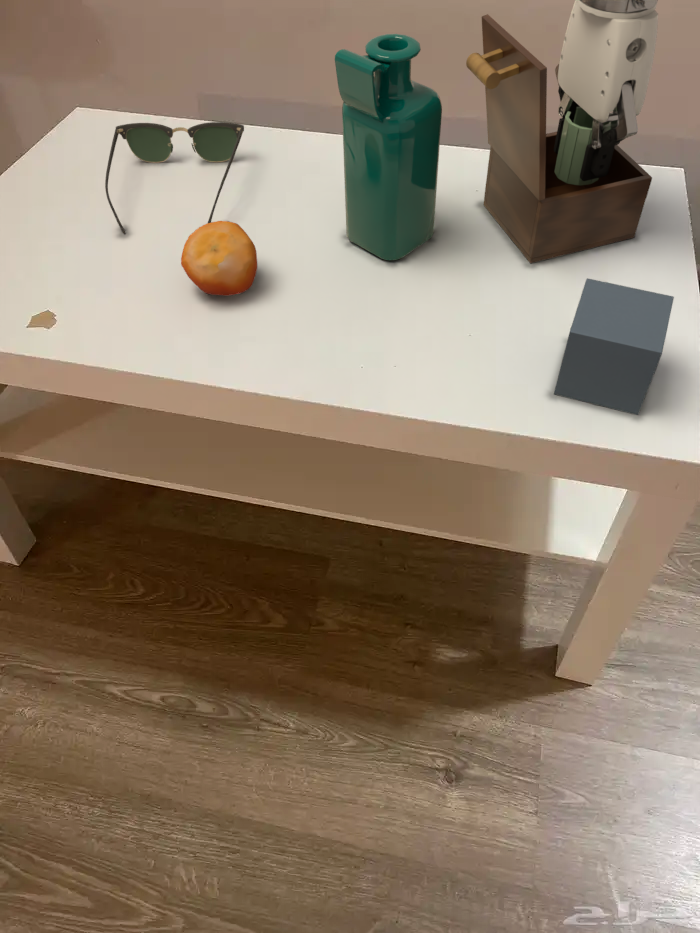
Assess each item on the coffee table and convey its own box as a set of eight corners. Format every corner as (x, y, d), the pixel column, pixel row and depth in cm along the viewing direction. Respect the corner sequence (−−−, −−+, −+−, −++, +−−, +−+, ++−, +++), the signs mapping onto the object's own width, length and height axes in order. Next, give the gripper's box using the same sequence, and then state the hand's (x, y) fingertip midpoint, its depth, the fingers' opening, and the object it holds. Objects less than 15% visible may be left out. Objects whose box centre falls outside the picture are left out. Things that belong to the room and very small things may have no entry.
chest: (580, 182, 98) (594, 123, 92) (634, 237, 91) (652, 177, 85) (483, 204, 96) (490, 145, 90) (530, 263, 88) (541, 203, 82)
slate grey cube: (650, 359, 78) (674, 296, 72) (638, 415, 74) (662, 352, 68) (570, 341, 80) (586, 277, 74) (553, 394, 76) (569, 331, 69)
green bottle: (387, 206, 96) (390, 13, 79) (440, 234, 92) (455, 38, 75) (331, 242, 92) (320, 47, 74) (384, 273, 88) (386, 74, 71)
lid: (487, 13, 78) (448, 28, 78) (547, 67, 71) (503, 84, 71) (493, 141, 89) (458, 154, 89) (545, 198, 82) (507, 213, 82)
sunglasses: (96, 234, 94) (84, 197, 90) (126, 158, 104) (116, 122, 100) (233, 234, 93) (227, 196, 89) (248, 157, 104) (243, 121, 100)
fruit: (268, 243, 89) (254, 211, 82) (262, 310, 88) (247, 284, 81) (199, 240, 90) (179, 208, 82) (192, 306, 89) (171, 280, 81)
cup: (603, 165, 90) (617, 110, 85) (595, 188, 87) (609, 133, 82) (559, 157, 91) (571, 102, 86) (550, 180, 88) (561, 125, 83)
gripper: (707, 15, 70) (650, 197, 84) (607, -52, 80) (571, 121, 94) (633, 29, 68) (588, 212, 82) (540, -40, 78) (515, 133, 92)
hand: (580, 162), depth 88 cm, fingers closed on cup, 5 cm apart
